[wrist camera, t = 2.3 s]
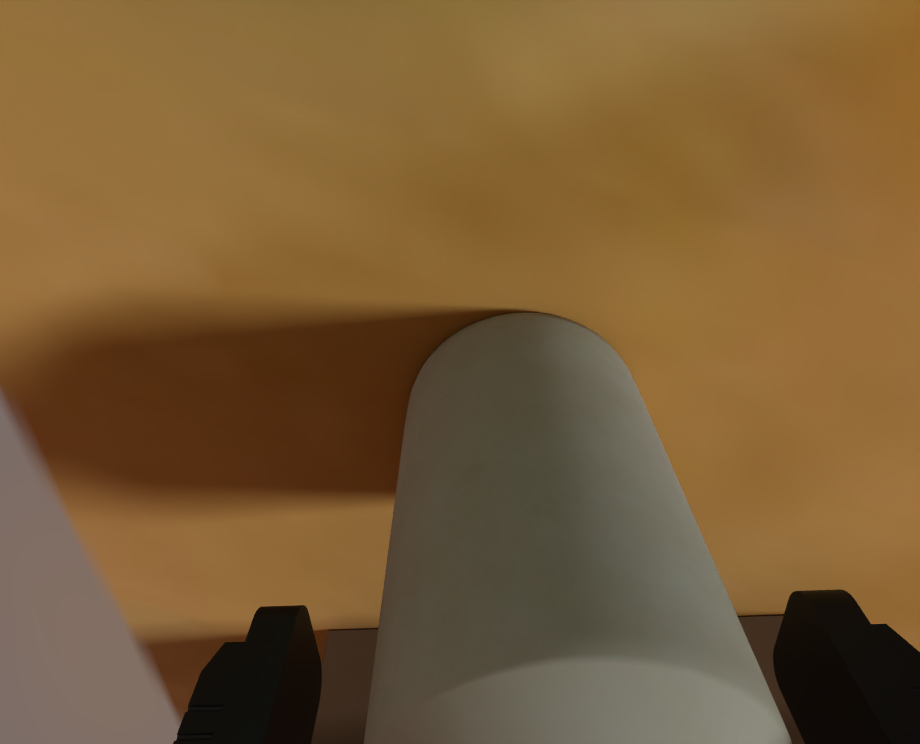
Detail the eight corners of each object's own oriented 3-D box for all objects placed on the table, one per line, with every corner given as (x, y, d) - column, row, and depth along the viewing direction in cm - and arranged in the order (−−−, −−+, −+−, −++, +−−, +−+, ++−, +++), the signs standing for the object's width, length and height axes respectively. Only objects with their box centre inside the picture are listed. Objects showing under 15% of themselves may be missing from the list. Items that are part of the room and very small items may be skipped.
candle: (621, 494, 17) (784, 1016, 8) (413, 496, 17) (365, 1016, 8) (649, 306, 14) (942, 806, 5) (400, 309, 14) (306, 810, 6)
